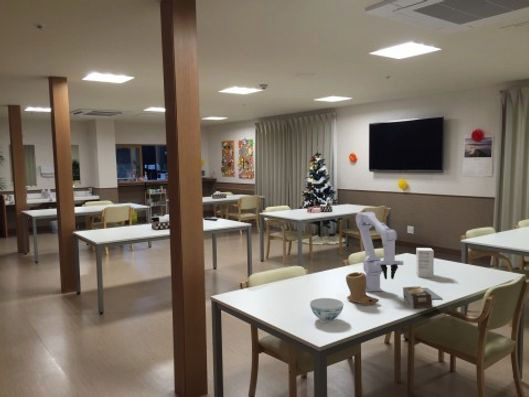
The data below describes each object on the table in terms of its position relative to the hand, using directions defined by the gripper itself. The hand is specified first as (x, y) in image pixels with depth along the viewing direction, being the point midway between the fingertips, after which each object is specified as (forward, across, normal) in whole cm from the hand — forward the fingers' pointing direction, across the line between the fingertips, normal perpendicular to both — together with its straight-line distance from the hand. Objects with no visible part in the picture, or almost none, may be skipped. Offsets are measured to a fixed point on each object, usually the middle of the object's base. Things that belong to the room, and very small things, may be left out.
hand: (388, 278), depth 227 cm
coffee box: (+7, +11, -3) cm, 13 cm away
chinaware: (+10, -38, -31) cm, 50 cm away
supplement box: (+10, +36, +43) cm, 57 cm away
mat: (+10, +20, +4) cm, 23 cm away
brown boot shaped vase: (+10, -17, -7) cm, 21 cm away
